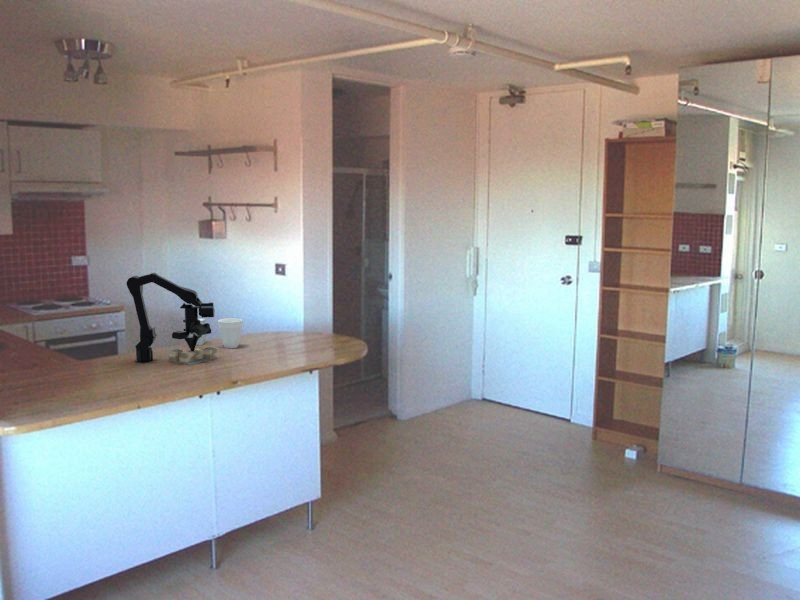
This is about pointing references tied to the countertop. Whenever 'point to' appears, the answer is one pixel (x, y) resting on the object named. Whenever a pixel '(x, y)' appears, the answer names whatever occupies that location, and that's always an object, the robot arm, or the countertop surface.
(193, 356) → the plain bar
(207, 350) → the number block
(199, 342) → the supplement box
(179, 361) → the mat
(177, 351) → the number block
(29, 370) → the countertop surface
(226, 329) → the cup
